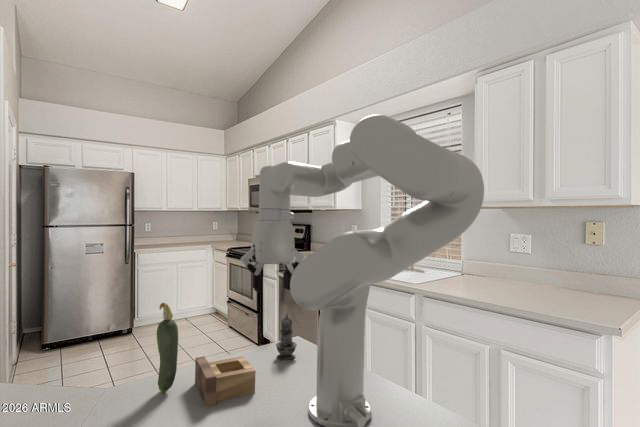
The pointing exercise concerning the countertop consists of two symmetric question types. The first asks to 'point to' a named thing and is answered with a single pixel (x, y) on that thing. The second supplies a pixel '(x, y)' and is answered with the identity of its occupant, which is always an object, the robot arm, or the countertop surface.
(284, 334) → the ornate incense burner
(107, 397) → the countertop surface
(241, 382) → the socket block
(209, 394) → the wall
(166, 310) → the vegetable
